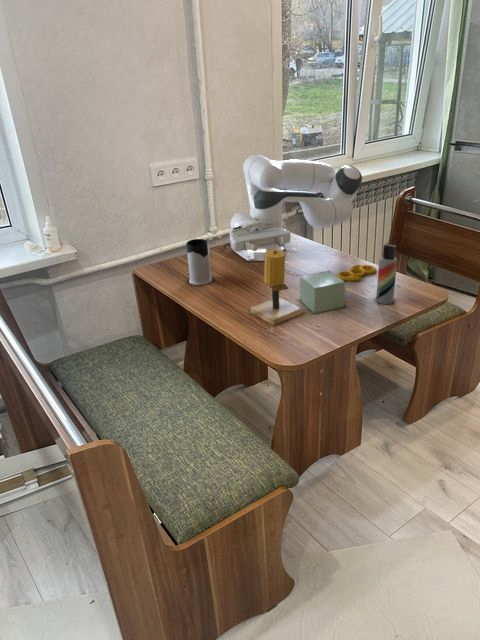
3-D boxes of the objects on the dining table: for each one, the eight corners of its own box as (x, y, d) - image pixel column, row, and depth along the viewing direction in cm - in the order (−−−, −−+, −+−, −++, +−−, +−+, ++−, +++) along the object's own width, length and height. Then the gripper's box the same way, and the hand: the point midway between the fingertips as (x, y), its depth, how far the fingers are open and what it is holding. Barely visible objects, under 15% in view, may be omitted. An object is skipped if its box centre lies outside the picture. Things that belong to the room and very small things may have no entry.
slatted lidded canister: (261, 279, 172) (262, 248, 166) (279, 276, 174) (280, 245, 168) (272, 291, 165) (273, 260, 159) (290, 288, 167) (292, 257, 161)
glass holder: (185, 283, 199) (180, 245, 192) (201, 269, 211) (198, 232, 203) (206, 286, 196) (202, 247, 189) (221, 271, 208) (218, 234, 200)
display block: (300, 300, 183) (300, 276, 178) (328, 294, 186) (329, 270, 182) (314, 313, 174) (314, 288, 170) (343, 306, 178) (345, 282, 173)
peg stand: (250, 312, 176) (247, 255, 166) (278, 302, 183) (276, 246, 172) (273, 325, 168) (271, 265, 158) (301, 313, 174) (301, 255, 164)
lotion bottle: (372, 299, 182) (377, 243, 171) (386, 295, 183) (391, 240, 173) (382, 305, 177) (387, 248, 167) (396, 302, 179) (402, 245, 169)
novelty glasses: (330, 275, 201) (347, 284, 193) (331, 271, 200) (347, 280, 193) (365, 265, 208) (382, 273, 200) (365, 262, 207) (382, 270, 199)
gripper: (281, 238, 187) (298, 250, 176) (226, 247, 181) (240, 261, 170) (281, 220, 184) (298, 232, 172) (225, 229, 178) (238, 242, 166)
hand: (268, 246), depth 171 cm, fingers open, 8 cm apart
